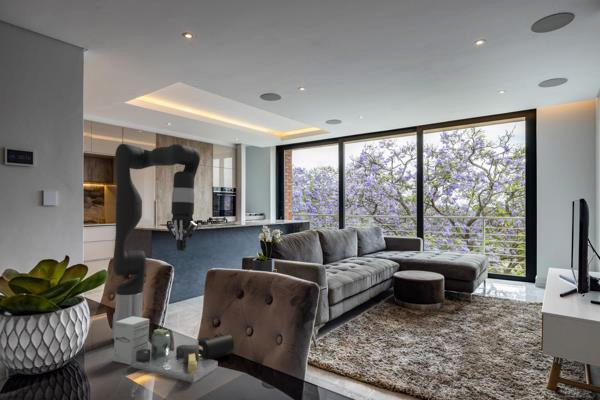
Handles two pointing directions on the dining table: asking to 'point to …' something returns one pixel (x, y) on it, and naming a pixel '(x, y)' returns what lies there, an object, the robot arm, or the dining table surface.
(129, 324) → the supplement box
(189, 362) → the level knob
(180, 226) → the robot arm
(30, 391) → the dining table surface
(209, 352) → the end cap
